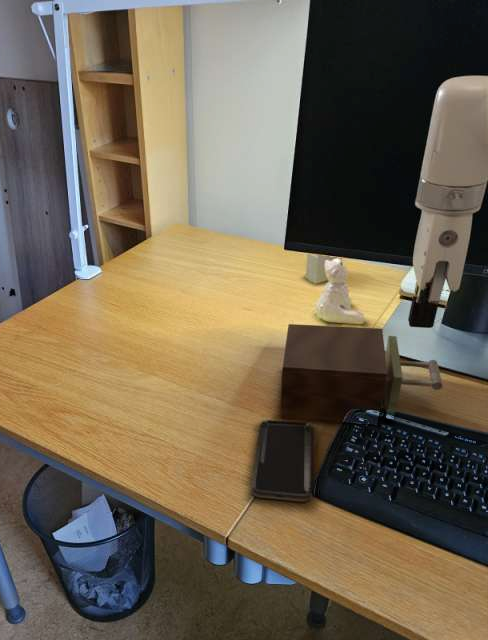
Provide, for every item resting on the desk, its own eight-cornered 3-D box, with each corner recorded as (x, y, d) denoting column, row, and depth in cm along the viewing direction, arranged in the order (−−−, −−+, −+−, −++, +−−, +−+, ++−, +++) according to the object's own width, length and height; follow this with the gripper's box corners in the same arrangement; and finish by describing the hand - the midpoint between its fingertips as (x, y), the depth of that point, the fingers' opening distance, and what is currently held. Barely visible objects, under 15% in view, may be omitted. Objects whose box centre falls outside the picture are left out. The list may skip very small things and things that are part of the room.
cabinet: (374, 378, 94) (382, 328, 88) (377, 426, 84) (387, 373, 78) (286, 372, 97) (288, 323, 91) (279, 418, 87) (282, 366, 81)
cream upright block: (340, 276, 125) (344, 232, 119) (315, 283, 123) (319, 239, 117) (329, 270, 128) (333, 227, 122) (305, 278, 125) (308, 234, 119)
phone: (313, 423, 83) (311, 496, 72) (312, 429, 84) (310, 503, 72) (260, 419, 85) (250, 491, 73) (260, 425, 86) (250, 497, 74)
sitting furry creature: (366, 325, 107) (375, 266, 100) (323, 331, 107) (328, 272, 99) (347, 303, 115) (354, 247, 108) (307, 308, 114) (311, 252, 107)
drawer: (428, 379, 91) (438, 338, 86) (438, 423, 82) (449, 380, 77) (305, 371, 95) (308, 331, 90) (302, 412, 86) (305, 371, 81)
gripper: (496, 215, 62) (456, 354, 73) (471, 175, 73) (440, 301, 84) (424, 213, 63) (396, 350, 74) (411, 175, 75) (388, 299, 86)
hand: (420, 324), depth 79 cm, fingers closed
